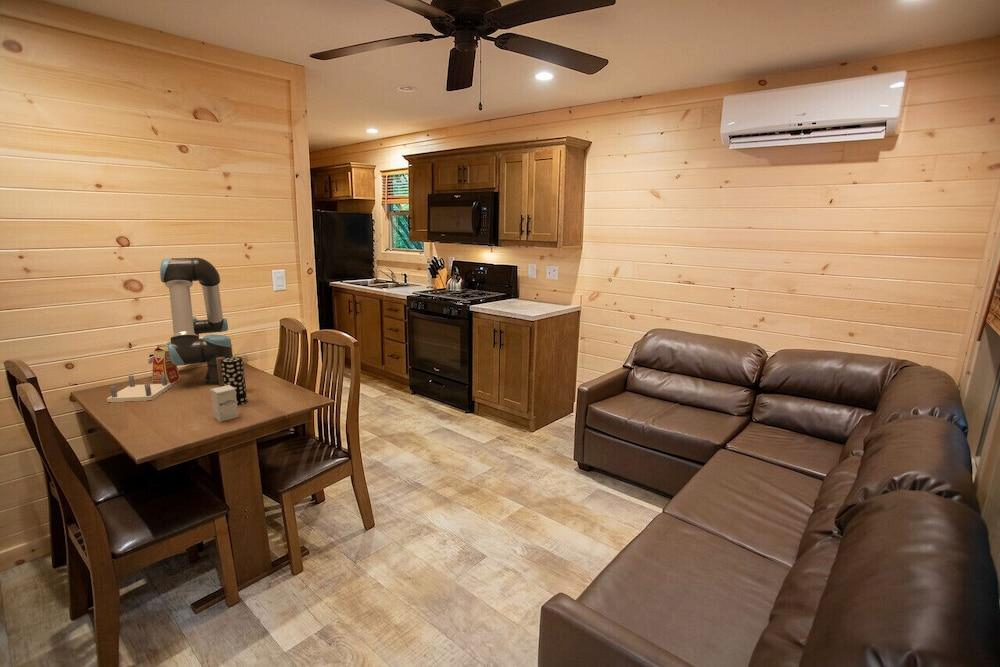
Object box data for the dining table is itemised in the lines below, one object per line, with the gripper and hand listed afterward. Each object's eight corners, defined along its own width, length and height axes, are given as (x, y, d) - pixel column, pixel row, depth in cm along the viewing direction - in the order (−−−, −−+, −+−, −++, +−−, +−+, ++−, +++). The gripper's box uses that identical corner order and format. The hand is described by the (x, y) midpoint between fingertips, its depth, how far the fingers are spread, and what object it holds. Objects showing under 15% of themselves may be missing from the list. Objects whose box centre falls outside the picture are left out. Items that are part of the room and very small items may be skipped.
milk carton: (169, 385, 239) (163, 346, 234) (151, 385, 239) (144, 346, 234) (182, 379, 247) (176, 341, 243) (164, 379, 248) (158, 341, 243)
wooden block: (246, 391, 232) (242, 355, 228) (221, 396, 224) (216, 359, 220) (244, 389, 234) (239, 353, 230) (219, 394, 227) (214, 357, 223)
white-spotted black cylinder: (238, 398, 223) (233, 356, 219) (251, 401, 220) (246, 358, 215) (221, 404, 216) (216, 360, 211) (234, 407, 212) (228, 363, 208)
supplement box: (219, 422, 197) (215, 393, 194) (213, 417, 202) (209, 388, 199) (239, 417, 202) (235, 388, 199) (232, 412, 207) (229, 384, 204)
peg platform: (171, 387, 236) (169, 373, 235) (152, 400, 219) (149, 386, 217) (131, 388, 234) (128, 374, 232) (107, 402, 216) (104, 387, 215)
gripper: (209, 355, 264) (191, 367, 244) (159, 357, 260) (136, 369, 240) (208, 342, 262) (189, 353, 242) (157, 343, 259) (134, 354, 238)
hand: (163, 361), depth 241 cm, fingers open, 13 cm apart
